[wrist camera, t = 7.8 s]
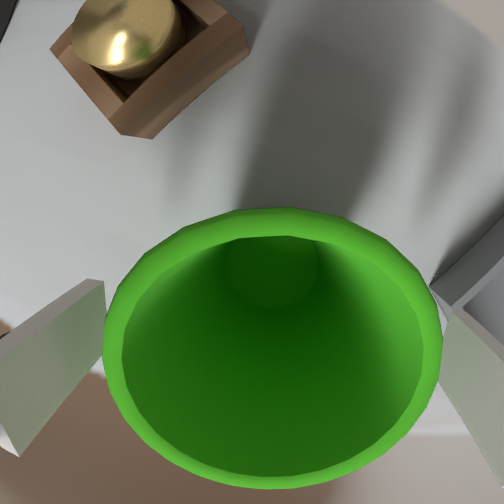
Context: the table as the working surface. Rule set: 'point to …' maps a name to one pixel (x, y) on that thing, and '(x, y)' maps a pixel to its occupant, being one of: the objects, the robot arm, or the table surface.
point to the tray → (477, 283)
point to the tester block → (162, 71)
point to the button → (128, 35)
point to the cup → (272, 347)
